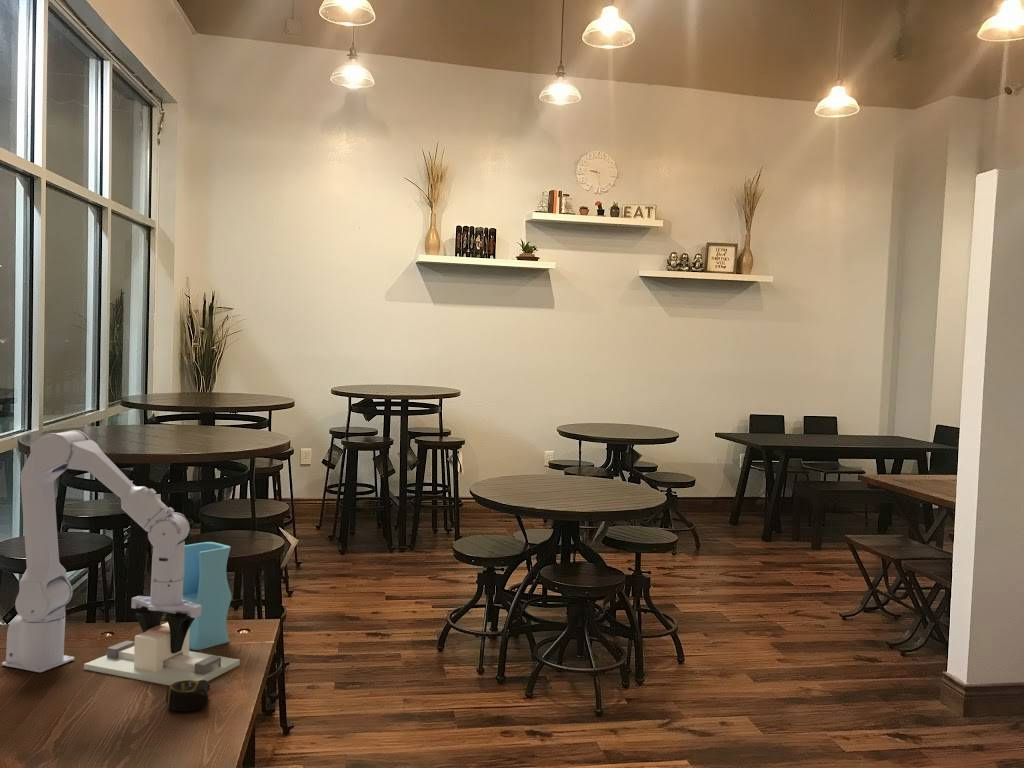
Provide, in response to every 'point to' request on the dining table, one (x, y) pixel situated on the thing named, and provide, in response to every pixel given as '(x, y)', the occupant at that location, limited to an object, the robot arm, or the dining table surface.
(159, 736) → the dining table surface
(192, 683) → the tape measure
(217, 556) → the vase
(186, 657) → the rail board
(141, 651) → the block
